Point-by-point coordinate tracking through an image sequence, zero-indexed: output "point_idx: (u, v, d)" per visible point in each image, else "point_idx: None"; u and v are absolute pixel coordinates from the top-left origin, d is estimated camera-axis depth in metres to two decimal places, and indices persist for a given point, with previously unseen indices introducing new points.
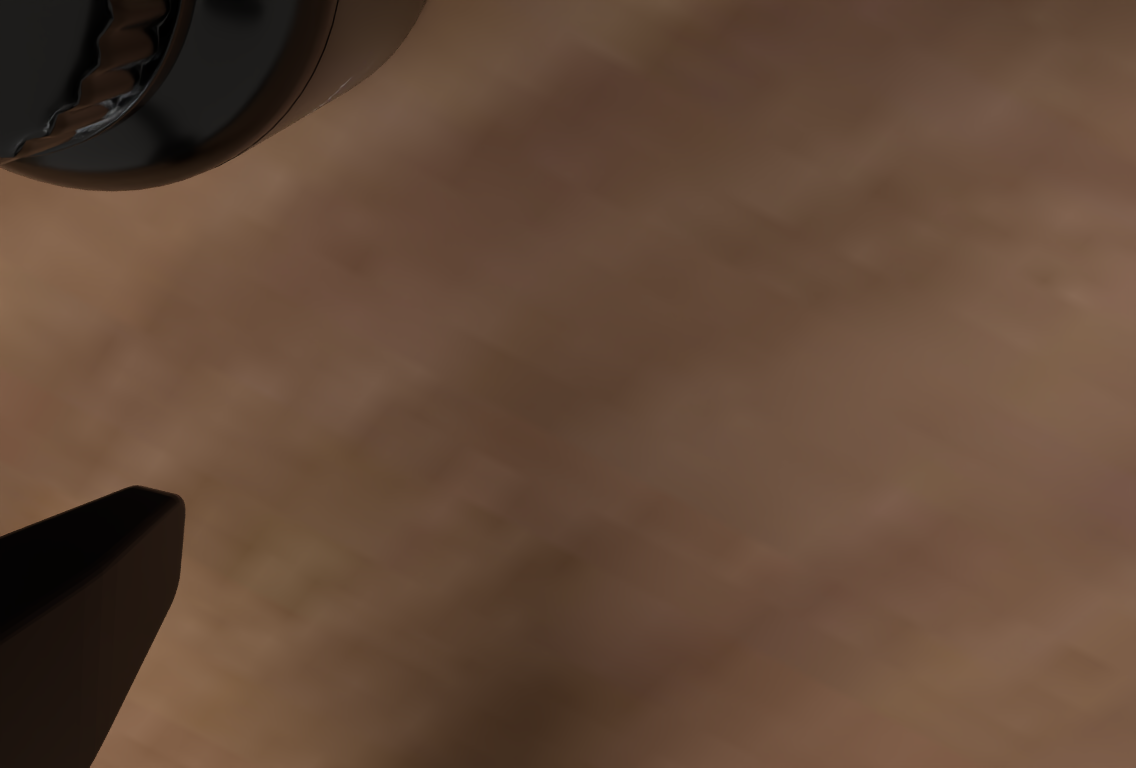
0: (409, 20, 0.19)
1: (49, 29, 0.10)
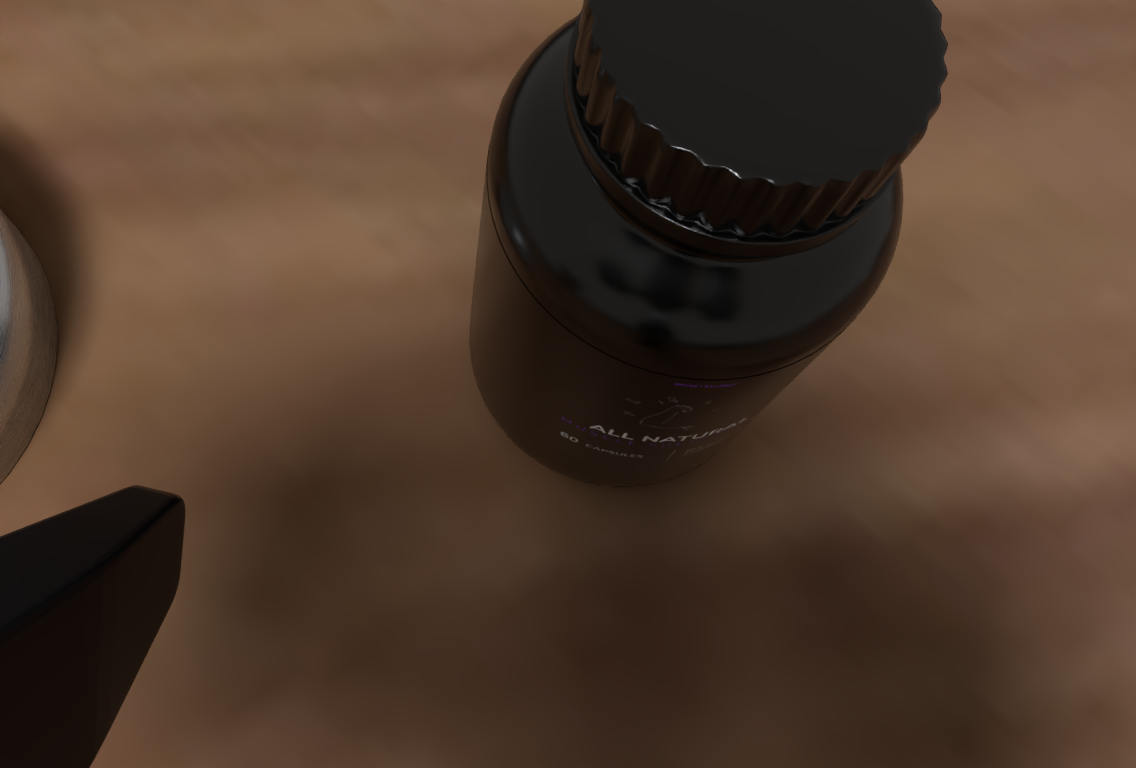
0: None
1: (881, 118, 0.13)
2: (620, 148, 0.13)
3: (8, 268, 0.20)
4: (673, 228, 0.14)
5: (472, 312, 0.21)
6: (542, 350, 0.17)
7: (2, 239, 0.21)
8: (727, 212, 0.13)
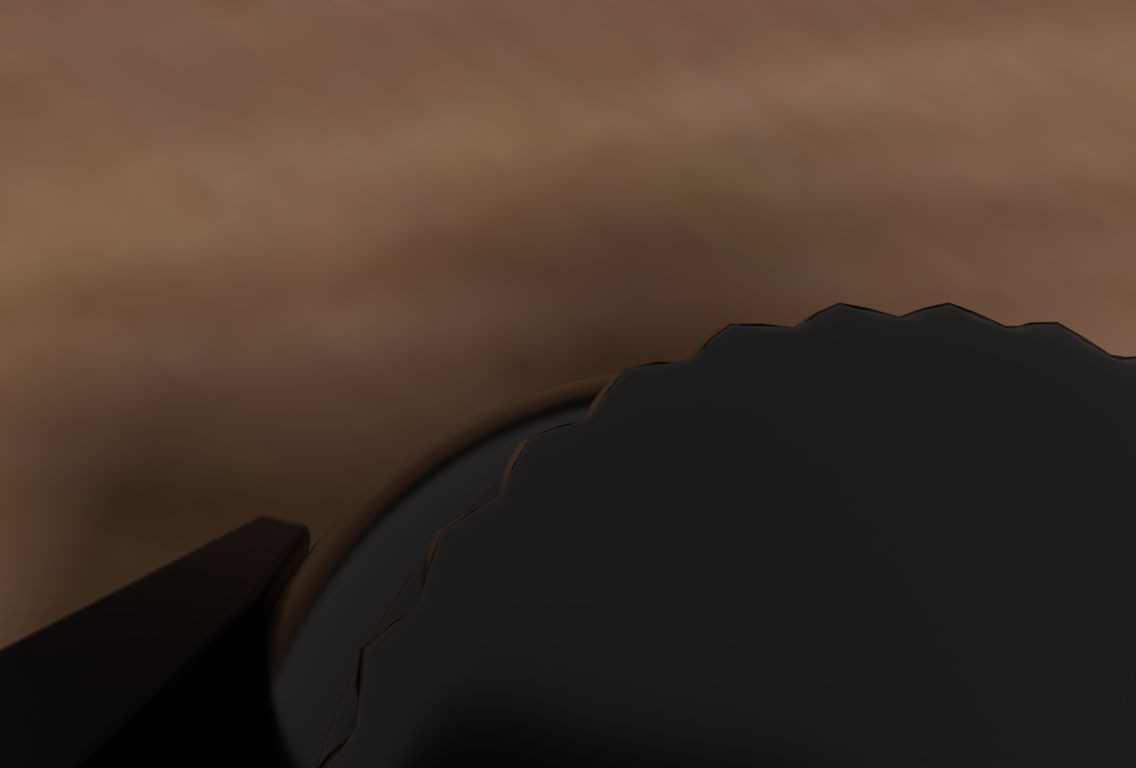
0: None
1: None
2: None
3: None
4: None
5: None
6: None
7: None
8: None
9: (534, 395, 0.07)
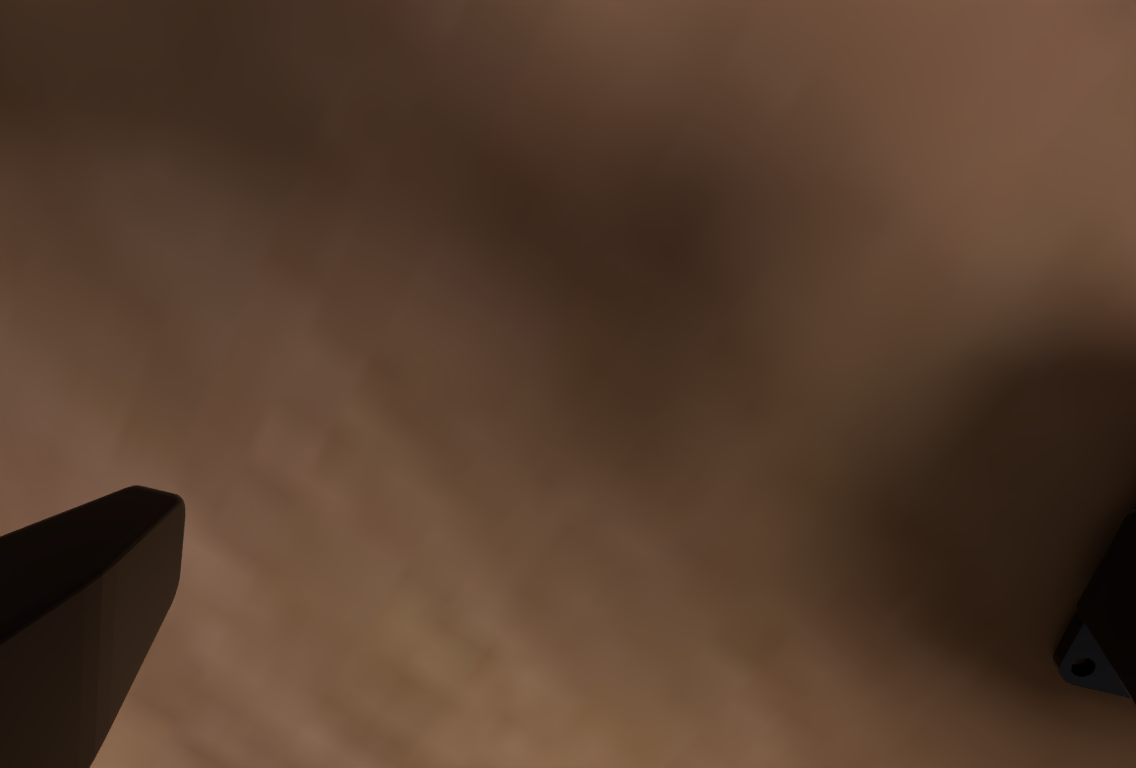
0: None
1: None
2: None
3: None
4: None
5: None
6: None
7: None
8: None
9: None
